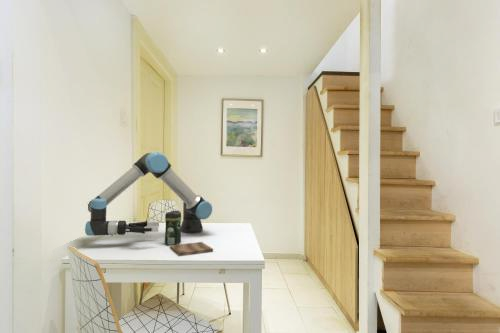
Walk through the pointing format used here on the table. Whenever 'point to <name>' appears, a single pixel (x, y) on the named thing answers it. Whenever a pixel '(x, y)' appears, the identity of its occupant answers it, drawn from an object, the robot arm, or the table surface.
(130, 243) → the table surface
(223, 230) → the table surface
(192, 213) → the robot arm
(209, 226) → the table surface
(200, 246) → the walnut board
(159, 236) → the table surface
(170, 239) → the coffee jar
